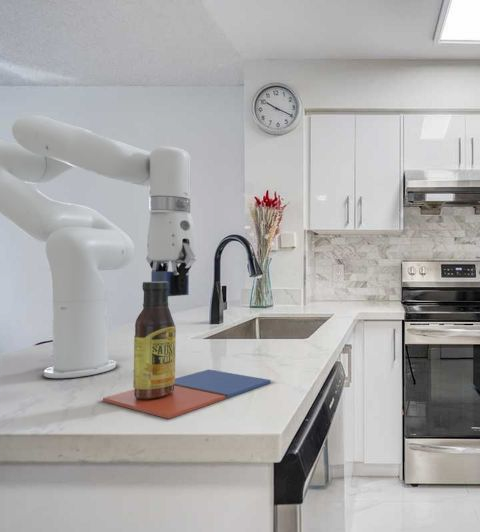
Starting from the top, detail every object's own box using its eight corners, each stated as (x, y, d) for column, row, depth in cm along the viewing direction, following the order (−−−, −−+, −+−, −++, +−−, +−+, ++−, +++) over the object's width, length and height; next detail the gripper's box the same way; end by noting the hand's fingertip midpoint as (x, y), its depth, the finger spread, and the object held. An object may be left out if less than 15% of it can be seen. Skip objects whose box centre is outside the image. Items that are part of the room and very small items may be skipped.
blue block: (151, 295, 87) (151, 271, 86) (173, 293, 91) (173, 271, 91) (166, 296, 84) (166, 272, 84) (188, 294, 89) (188, 271, 89)
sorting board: (102, 401, 71) (102, 397, 71) (208, 372, 90) (208, 368, 90) (168, 419, 63) (168, 414, 63) (270, 382, 82) (270, 379, 82)
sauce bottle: (156, 402, 69) (154, 282, 69) (124, 400, 70) (123, 282, 70) (184, 390, 75) (183, 280, 75) (154, 388, 76) (153, 280, 76)
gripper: (213, 207, 87) (212, 294, 87) (162, 211, 95) (162, 291, 95) (179, 203, 80) (179, 297, 80) (128, 207, 88) (127, 293, 88)
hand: (170, 293), depth 88 cm, fingers closed on blue block, 5 cm apart
